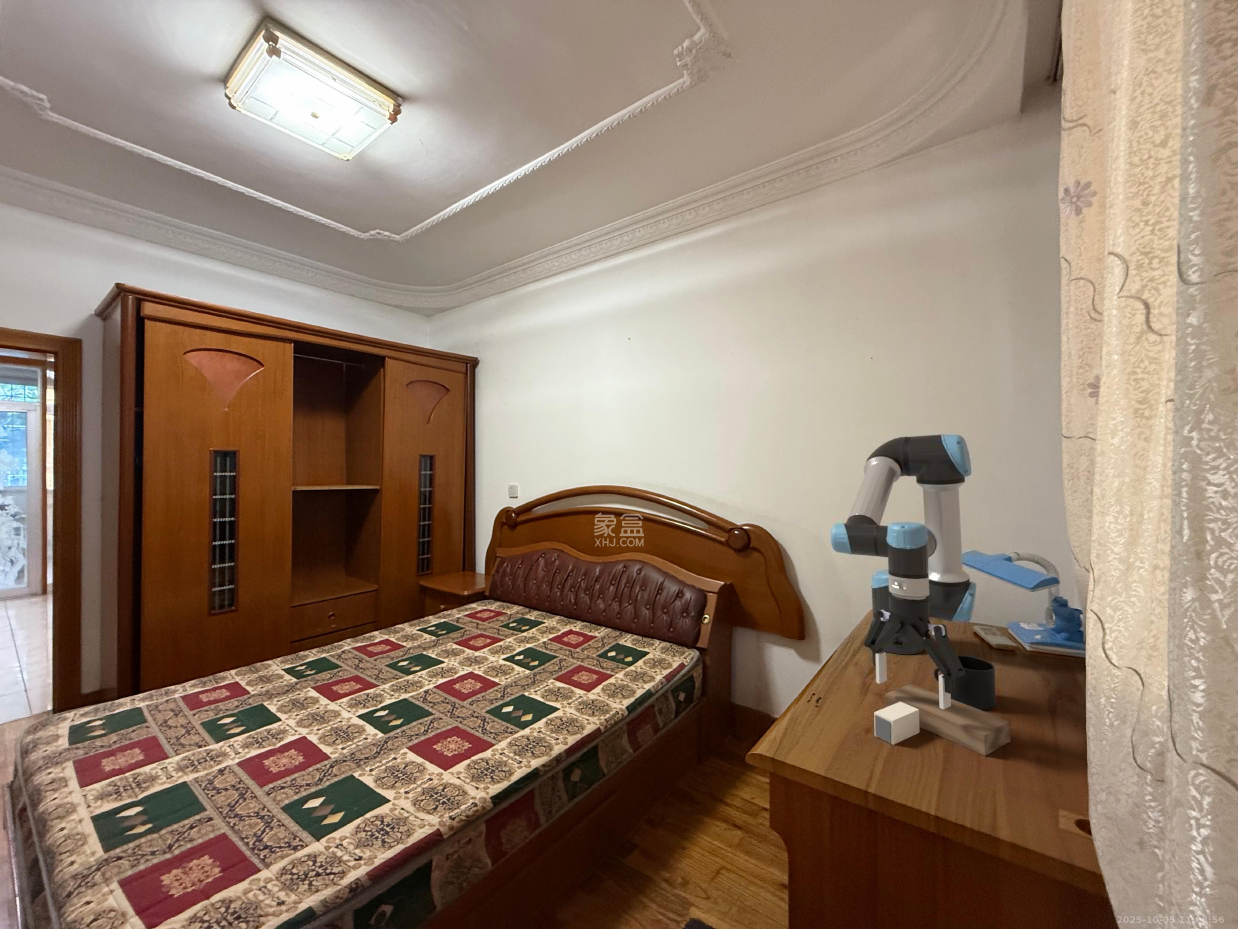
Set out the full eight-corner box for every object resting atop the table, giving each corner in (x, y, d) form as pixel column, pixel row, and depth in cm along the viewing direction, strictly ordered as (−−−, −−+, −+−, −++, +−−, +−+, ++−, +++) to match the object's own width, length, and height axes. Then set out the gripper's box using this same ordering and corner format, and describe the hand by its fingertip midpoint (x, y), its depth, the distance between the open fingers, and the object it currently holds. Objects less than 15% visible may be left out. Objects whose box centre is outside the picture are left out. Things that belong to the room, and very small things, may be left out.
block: (900, 701, 106) (873, 712, 102) (918, 709, 103) (891, 721, 98) (901, 724, 106) (873, 736, 102) (919, 733, 103) (892, 746, 98)
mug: (936, 685, 123) (935, 649, 124) (996, 698, 116) (995, 660, 116) (932, 700, 116) (930, 662, 116) (995, 715, 109) (994, 674, 109)
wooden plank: (911, 700, 116) (911, 683, 116) (1010, 741, 98) (1010, 721, 99) (885, 711, 111) (885, 694, 111) (984, 756, 94) (984, 735, 94)
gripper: (846, 585, 114) (848, 676, 114) (962, 612, 92) (966, 724, 92) (866, 581, 117) (868, 669, 117) (983, 606, 95) (986, 714, 95)
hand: (911, 693), depth 105 cm, fingers open, 13 cm apart
